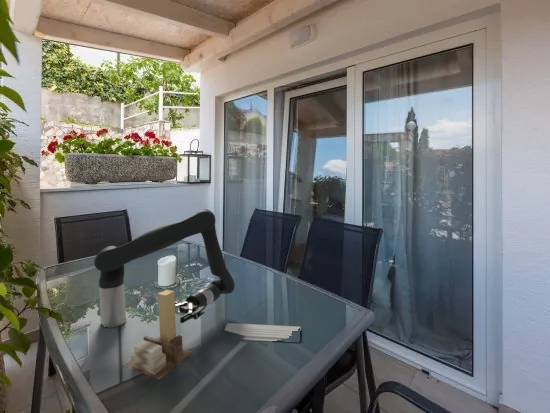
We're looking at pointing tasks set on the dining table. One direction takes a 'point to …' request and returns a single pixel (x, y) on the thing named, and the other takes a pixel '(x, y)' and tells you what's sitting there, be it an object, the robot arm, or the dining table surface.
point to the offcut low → (149, 363)
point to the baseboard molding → (261, 331)
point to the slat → (167, 315)
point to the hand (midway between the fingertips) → (171, 318)
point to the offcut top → (148, 350)
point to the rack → (172, 355)
